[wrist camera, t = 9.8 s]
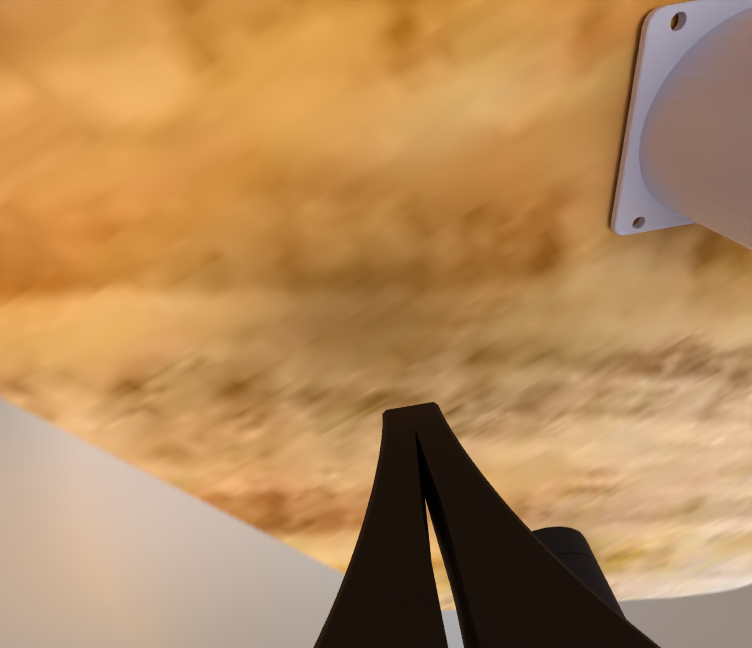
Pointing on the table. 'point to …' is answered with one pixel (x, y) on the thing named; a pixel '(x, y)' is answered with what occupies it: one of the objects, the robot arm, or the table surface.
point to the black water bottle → (578, 560)
